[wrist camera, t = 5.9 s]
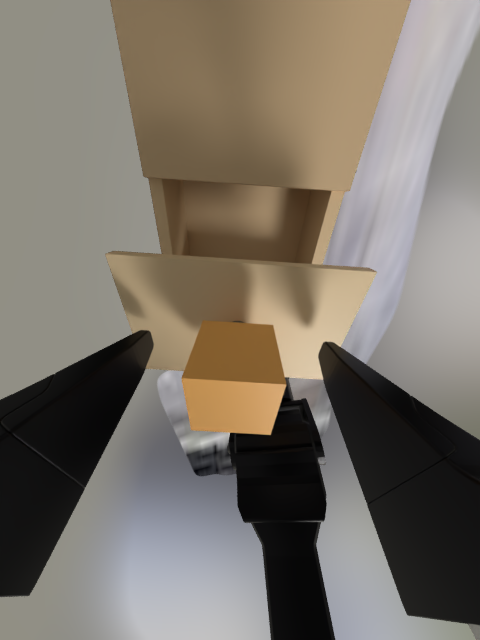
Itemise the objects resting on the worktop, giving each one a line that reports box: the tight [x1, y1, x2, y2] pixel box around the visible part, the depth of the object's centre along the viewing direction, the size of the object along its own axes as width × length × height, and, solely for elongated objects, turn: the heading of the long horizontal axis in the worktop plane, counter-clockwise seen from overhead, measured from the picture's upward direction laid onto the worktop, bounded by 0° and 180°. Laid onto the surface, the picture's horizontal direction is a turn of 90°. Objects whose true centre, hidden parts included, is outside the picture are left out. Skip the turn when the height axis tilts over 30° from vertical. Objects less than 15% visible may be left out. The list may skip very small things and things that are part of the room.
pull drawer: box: [105, 251, 377, 435], centre depth 8 cm, size 7×12×5 cm, turn 87°
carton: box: [110, 0, 411, 265], centre depth 13 cm, size 15×12×6 cm
